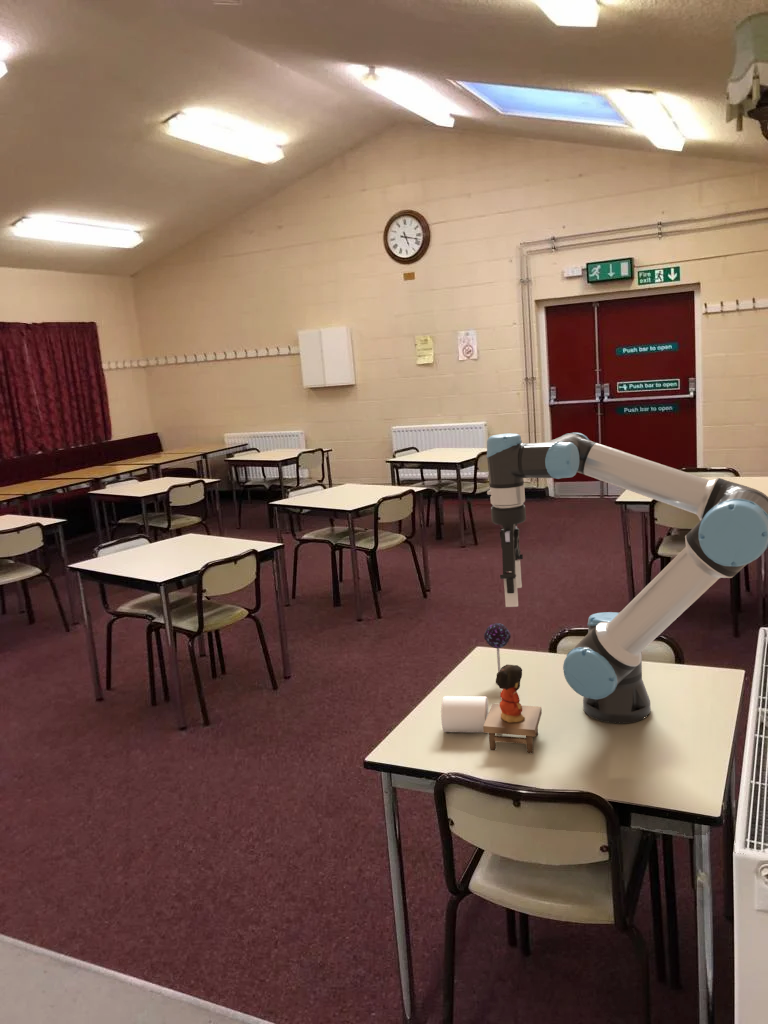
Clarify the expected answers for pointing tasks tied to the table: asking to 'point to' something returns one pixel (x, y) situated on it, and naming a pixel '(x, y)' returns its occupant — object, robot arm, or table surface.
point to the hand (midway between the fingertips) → (514, 596)
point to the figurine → (510, 693)
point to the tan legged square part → (513, 727)
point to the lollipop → (497, 637)
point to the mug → (464, 713)
